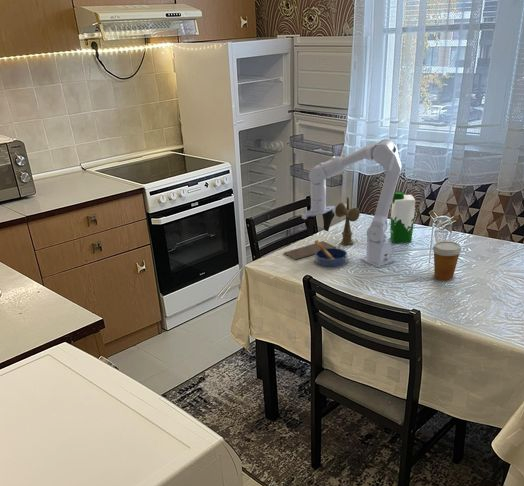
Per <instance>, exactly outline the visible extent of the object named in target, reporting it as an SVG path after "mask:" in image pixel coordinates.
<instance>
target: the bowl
mask: <svg viewBox="0 0 524 486" xmlns="http://www.w3.org/2000/svg"><path fill="white" fill-rule="evenodd" d="M326 250H327V251H328V252H329V253H330V254H331V255H332V256H333V258H334V259H329V258H328V257H327V256H326V255H325V254H324V253H323V251H322V250H319V251H317V252H316V253H315V255H314V256H315V257H314V258H315V259H314V260H315V264H317V265H318V266H320V267H324V268H337V267H341V266H344V265H345V264H347V262H348V252H347V251H346V250H345V249H342V248H339V247H336V248H326Z"/></svg>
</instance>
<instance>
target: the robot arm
mask: <svg viewBox="0 0 524 486" xmlns="http://www.w3.org/2000/svg"><path fill="white" fill-rule="evenodd" d="M364 159H365V160H368V161H371V162H372V161H373V160H374V162H375V163H377V164H378V165H379V166H381V167H382V168H383V169H384V172H385V176H384V180H383V184H382V186H381V190H380V191H381V192H380V195H379V198H378V201H377V205H376V208H375V212H374V215H373V217H372V221H371V223H370V225H369V227H368V228H367V229H366V253H365V257H362V258H361V261H364V262H367V263H369V264H371V265H373V266H375V267H380V266H383V265H386V264H389V263H393V259H392V253H393V245H392V244H391V243H390V242H389V241H388V239H387V236H386V231H387V229H388V224H387V223H388V222H387V221H388V218H389V216H388V215H389V212H390V209H391V206H392V199H393V196H394V192H396V188H397V185H398V181H399V177H400V175H401V173H402V172H401V171H402V163H401V160H400V156H399V153H398V147H397V146H396V144H394V142H393V141H392V140H391V139H388V138H384V139H382V140H380V141H375V142H372V143H369V144H368V145H366V146H364V147H362V148H359V149H358V150H355V151H354V152H352V153H350V154H348V155H346V156H343V157H341V156H338V155H337V156H335V155H333V156H331V157H330V159H328V160H327V161H325V162H323V161H322V162H320V163H319V164H317V165H315V166H314V167H312V169H310V171H309V173H308V179H309V181H310V209H309V210H306V211H305V212H301V219H302V221H303V223H304V225H305V227H306V230H307V234H308V236H309V237H310V236H311V237H313V236H314V226H315V221H316V219H314V217H317V216H321V215H322V220H323V221H322V222H323V231H325V232H329V230H330V226H331V223H332V221H333V219H334V218H335V210H336V206H334V205H328V206H327V185H326V184H327V179H330V178H332V177H334V176H337V175H338V174H341V173H343V172H345V170H346V167H348V166H350V165H352V164H355V163H358V162H360V161H363V160H364Z"/></svg>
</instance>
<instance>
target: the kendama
mask: <svg viewBox="0 0 524 486" xmlns="http://www.w3.org/2000/svg"><path fill="white" fill-rule="evenodd" d="M334 214H335V215H336V217H338V218H343V217H345V221H344V227H343V231H342V232H341V235H342V239H341V241H340V244H341V245H342V246H350V245H351V246H352V245H353V244H354V241H353V239H352V235H353V234H354V233H353V232H352V230H351V223H352V222H353V223H354V222H356V221H358V219H359V218H360V216H361V215H360V214H361V212H360V209H359V207H352V208H350V197H349V196H347V197H346V202H339V203H337V205H336V206H335V211H334ZM350 222H351V223H350Z"/></svg>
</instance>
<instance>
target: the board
mask: <svg viewBox="0 0 524 486" xmlns="http://www.w3.org/2000/svg"><path fill="white" fill-rule="evenodd" d="M319 242H320V243H321V244H322V245H323V247H324V248H325V249H326V248H337V246H335V245H332V244H330V243H329V242H326V241H325V240H322V241H319ZM319 250H321V249H320V248H319V247H318V246H317V245H316V244H315V243H311V244H308V245H304V246H301V247H298V248H295V249H291V250H287V251H285V252H283V255H285V256H287V257H289V258H291V259H293V260H295V261H298V260H302V259H305V258H308V257H311V256H315V253H316V252H317V251H319Z"/></svg>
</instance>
